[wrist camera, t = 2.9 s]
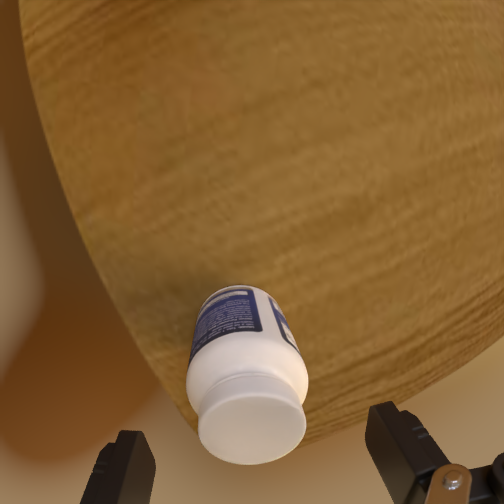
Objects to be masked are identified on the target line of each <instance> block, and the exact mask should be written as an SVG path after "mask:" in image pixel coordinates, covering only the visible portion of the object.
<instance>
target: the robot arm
mask: <svg viewBox="0 0 504 504" xmlns="http://www.w3.org/2000/svg"><path fill="white" fill-rule="evenodd" d="M365 441H366V446H367V449H368V451H369V453H370V455H371V457H372V459H373V461H374V463H375V465H376V467H377V469H378V471H379V473H380V475H381V477H382V479H383V481H384V483H385V486H386V487H387V490H388V492H389V494H390V496H391V498H392V500H393V502H394V504H504V453H501V454H500V455H498V456H497V458H495V460H494V462H493V464H492V465H488V466H484V467H479V468H474V469H467V468H466V467H464V466H462V465H459V464H452V463H450V462H449V460H448V459H447V457H446V456H445V455H444V453H443V452H442V450H441V449H440V448H439V446H438V445H437V444H436V442H435V441H434V440H433V438H432V437H431V436H430V435H429V433H428V431H427V430H426V429H425V428H424V427H423V425H422V423H421V422H420V420H419V419H418V418H417V417H416V416H415V415H413V414H411V413H410V412H408V411H407V410H404V411H401V412H399V410H398V409H397V408H396V406H395V405H394V403H393V402H392V401H388V402H384V403H381V404H377V405H373V406H371V407H370V409H369V414H368V420H367V426H366V432H365ZM155 471H156V465H155V459H154V456H153V454H152V452H151V450H150V448H149V445H148V443H147V441H146V438H145V436H144V434H143V432H142V431H128V430H121V431H120V432H119V434H118V437H117V440H116V442H115V443H108V444H107V445H106V446H105V447H104V448H103V449H102V450H101V451H100V453H99V456H98V458H97V461H96V464H95V465H94V468H93V473H91V476H90V478H89V481H88V483H87V486H86V489H85V491H84V494H83V497H82V499H81V502H80V504H149V502H150V496H151V492H152V487H153V481H154V477H155Z"/></svg>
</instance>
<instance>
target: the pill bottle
mask: <svg viewBox="0 0 504 504" xmlns="http://www.w3.org/2000/svg"><path fill="white" fill-rule="evenodd" d="M307 390H308V375H307V370H306V367H305V364H304V361H303V359H302V357H301V354H300V352H299V350H298V347H297V345H296V343H295V340H294V338H293V335H292V333H291V331H290V329H289V326H288V324H287V322H286V319H285V317H284V315H283V313H282V311H281V309H280V307H279V305H278V304H277V302H276V301H275V300H274V299H273V298H272V297H271V296H270V295H269V294H267V293H266V292H264V291H262V290H260V289H258V288H255V287H252V286H245V285H236V286H229V287H226V288H223V289H221V290H219V291H217V292H215V293H214V294H212V295H211V296H210V297H209V298H208V299H207V300H206V301H205V302H204V304H203V305H202V307H201V309H200V311H199V314H198V317H197V321H196V326H195V332H194V338H193V343H192V349H191V354H190V359H189V365H188V370H187V379H186V391H187V396H188V400H189V402H190V404H191V406H192V408H193V409H194V411H195V412H196V413H197V415H198V417H199V420H198V434H199V439H200V441H201V443H202V445H203V446H204V447H205V449H206V450H207V451H208V452H210V453H211V454H213V455H214V456H216V457H217V458H219V459H221V460H224V461H227V462H230V463H234V464H242V465H255V464H262V463H266V462H270V461H273V460H276V459H279V458H280V457H283V456H284V455H286V454H288V453H289V452H291V451H292V450H293V449H294V448H295V447H296V446H297V445H298V444H299V443H300V441H301V440H302V438H303V436H304V434H305V430H306V418H305V415H304V412H303V408H302V406H301V405H302V404H303V402H304V400H305V397H306V394H307Z"/></svg>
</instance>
